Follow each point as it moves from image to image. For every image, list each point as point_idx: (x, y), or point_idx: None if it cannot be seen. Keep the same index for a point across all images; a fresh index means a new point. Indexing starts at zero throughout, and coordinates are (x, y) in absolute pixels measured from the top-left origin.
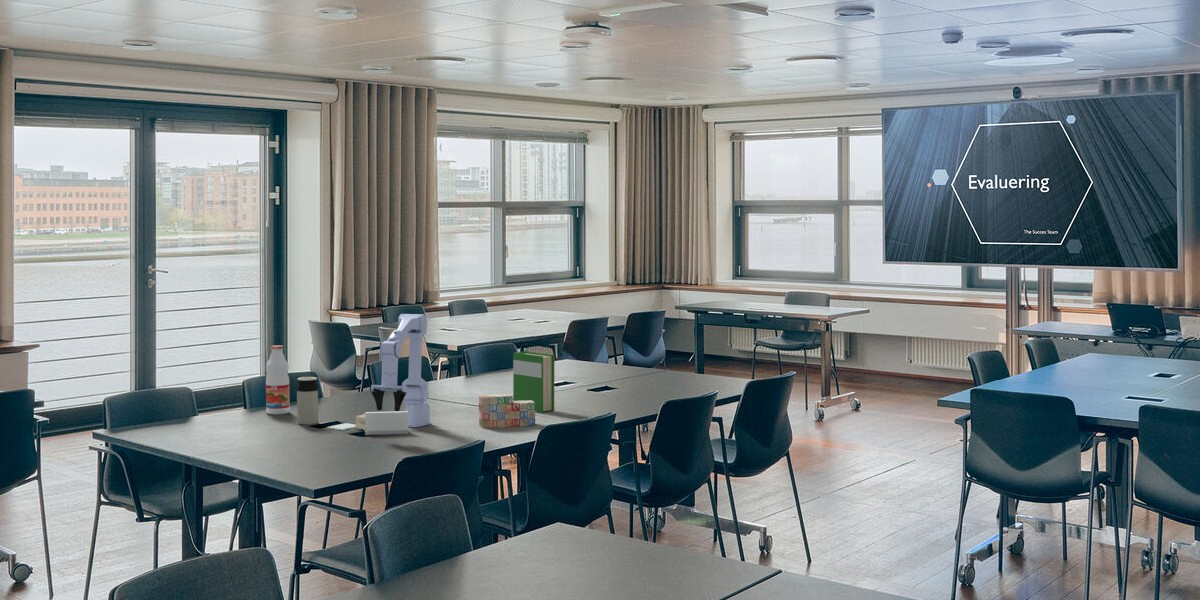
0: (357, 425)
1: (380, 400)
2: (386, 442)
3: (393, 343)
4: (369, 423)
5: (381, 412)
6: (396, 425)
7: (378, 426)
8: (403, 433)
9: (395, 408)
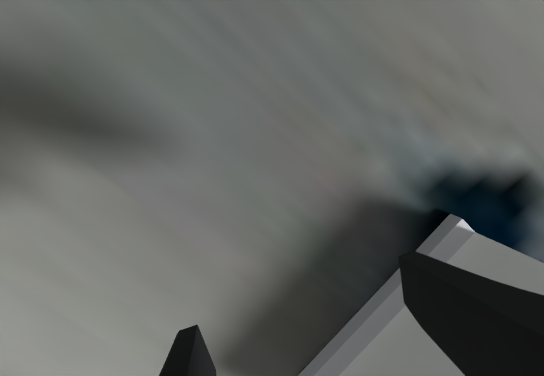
0: None
1: (489, 364)
2: (206, 155)
3: None
4: (491, 266)
5: None
6: (370, 372)
7: None
8: (316, 358)
9: (180, 346)
